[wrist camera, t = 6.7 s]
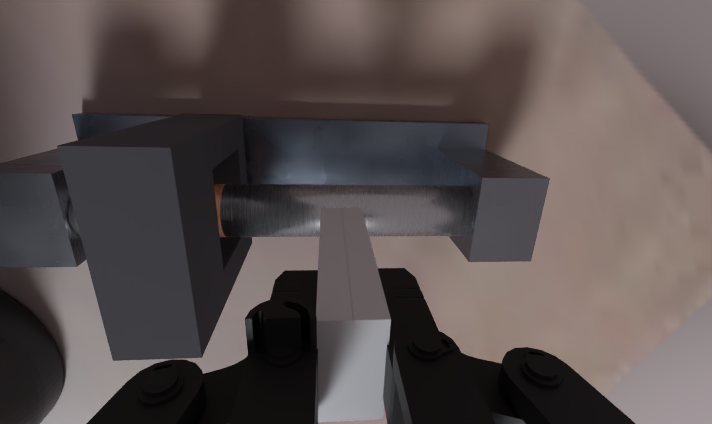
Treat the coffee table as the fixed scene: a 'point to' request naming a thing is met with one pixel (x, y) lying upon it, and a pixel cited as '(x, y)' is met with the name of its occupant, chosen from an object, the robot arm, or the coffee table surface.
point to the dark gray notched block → (158, 229)
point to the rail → (311, 187)
